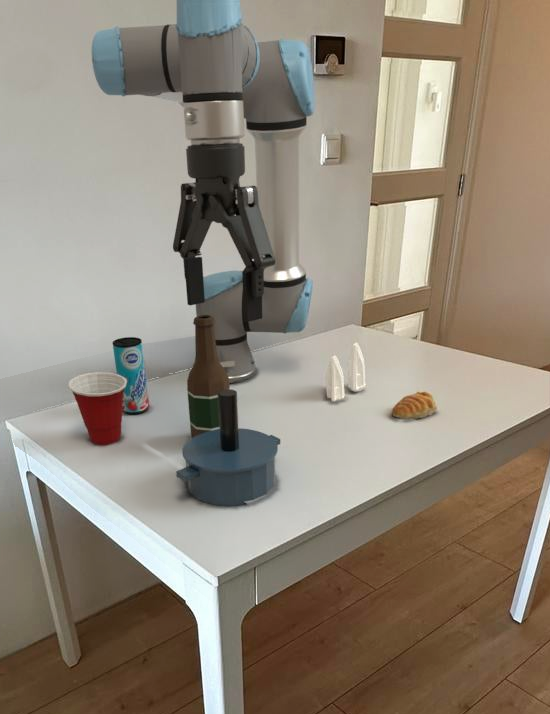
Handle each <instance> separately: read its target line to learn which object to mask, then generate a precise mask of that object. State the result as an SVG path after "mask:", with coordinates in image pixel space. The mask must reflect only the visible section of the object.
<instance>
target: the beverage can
mask: <svg viewBox="0 0 550 714" xmlns="http://www.w3.org/2000/svg"><path fill="white" fill-rule="evenodd" d="M142 342H143V341H142V339H141V338H139V337H135V336H128V337H121V338H116V339H115V340H113V341H112V349H113V356H114V363H115V371H116V374H118V375H120V376H123V377H124V378H125V379H126V380H127V384H126V387H125V388H124V393H123V404H122V412H123V413H125V414H128V415H140V414H144V413H146V412H147V411H148V410H149V409H150V400H149V391H148V383H147V373H146V366H145V365H146V364H145V358H144V356H145V355H144V350H143V349H144V348H143V343H142Z"/></svg>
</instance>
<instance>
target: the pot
mask: <svg viewBox="0 0 550 714" xmlns="http://www.w3.org/2000/svg"><path fill="white" fill-rule="evenodd" d="M268 436H270V437H272V438H273V439H274V440H275V441H276V443H277V446H279V445H281V438H279V437H277V436H276V435H273V434H270V435H269V434H268ZM175 474H176V477H177V478H178V479H179V480H181V481H183V482H185V483H186V482H187V488H188V490H189V493H190V494H191V495H192V496H193V497H194V498H195V499H197V500H198V501H200V502H202V503H205V504H208V505H213V506H218V507H219V506H220V507H239V506H245V505H248V503H246V502H250V501H251V502H252V501H255V500H257V499H259V498H262V497H264V496H266V495H268V493H270V491H271V490H272V489H273V488H274V487H275V484H276V456H275V457H274V459H273V460H271V461H270V462H269V463H267V464H265V465H263V466H261V467H258V468H255V469H252V470H248V471H242V472H233V473H219V472H210V471H205V470H201V469H198V468H196V467H194V466H192V465H190V464H189V463H187V462H186V461H185V467H182V468H180V469H178V470H176V471H175Z"/></svg>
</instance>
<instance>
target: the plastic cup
mask: <svg viewBox="0 0 550 714" xmlns="http://www.w3.org/2000/svg"><path fill="white" fill-rule="evenodd" d="M126 384H127V380H126V379H125V378H124V377H123V376H120V375H118V374H117V373H113V372H108V371H94V372H88V373H83V374H79V375H76V376H75V377H73V378H72V379H70V380H69V382H68V383H67V386H68V388H69V390H70V391H71V392H72V395H73V397H74V400H75V402H76V404H77V407H78V409H79V413H80V415H81V418H82V422H83V424H84V426H85V428H86V431H87V434H88V437H89V439H90V441H91V443H92V444H95V445H99V446H106V445H107V446H108V445H111V444H115V443H117V442H119V440H121V436H122V422H123V410H122V404H123V393H124V388H125V387H126Z"/></svg>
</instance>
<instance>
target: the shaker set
mask: <svg viewBox="0 0 550 714" xmlns="http://www.w3.org/2000/svg"><path fill="white" fill-rule="evenodd" d="M366 385H367V384H366V367H365V359H364V355H363V353H362V350H361V347H360V345H359V343H358V342H354V343H353V344H352V346H351V350H350V353H349V357H348V361H347V387H348V389H349V390H350V391H351V392H354V393H359V392H360V391H363V390H364V389H365V388H366ZM325 386H326V398H327V399H328V398H329V399H331V402H336V400H341V399H344V398H345V381H344V371H343V369H342V367H341V363H340V361H339V359H338V357H337V356H336V355H335V354H333V355H331V357H330V360H329V363H328V367H327V371H326V375H325Z"/></svg>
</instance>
